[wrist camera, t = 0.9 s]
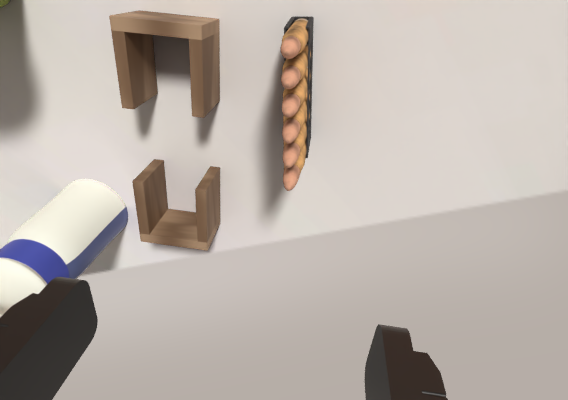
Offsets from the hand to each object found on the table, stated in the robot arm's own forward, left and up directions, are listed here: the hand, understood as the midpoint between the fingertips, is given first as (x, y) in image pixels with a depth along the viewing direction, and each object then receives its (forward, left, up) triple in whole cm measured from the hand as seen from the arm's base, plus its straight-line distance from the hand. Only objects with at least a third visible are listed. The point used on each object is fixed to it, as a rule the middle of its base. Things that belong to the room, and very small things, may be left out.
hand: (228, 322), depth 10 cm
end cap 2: (+11, +13, -27) cm, 32 cm away
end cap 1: (+11, -1, -27) cm, 30 cm away
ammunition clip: (0, 0, -28) cm, 28 cm away
